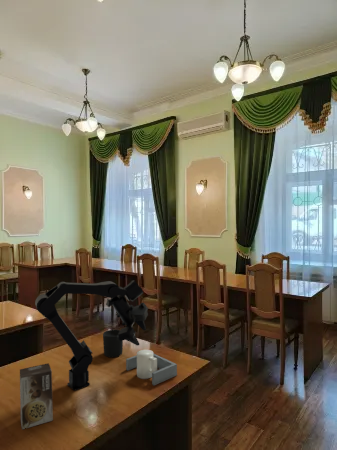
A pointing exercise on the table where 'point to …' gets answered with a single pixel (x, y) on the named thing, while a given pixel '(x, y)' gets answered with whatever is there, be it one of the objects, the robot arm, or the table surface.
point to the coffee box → (36, 395)
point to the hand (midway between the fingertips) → (141, 337)
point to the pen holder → (112, 343)
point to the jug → (146, 364)
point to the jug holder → (166, 367)
